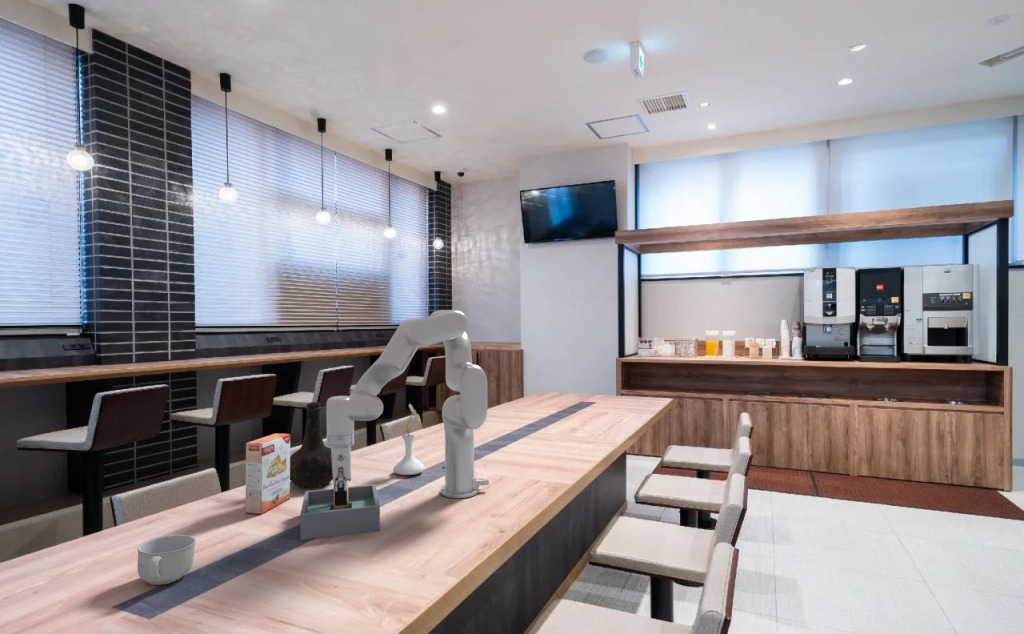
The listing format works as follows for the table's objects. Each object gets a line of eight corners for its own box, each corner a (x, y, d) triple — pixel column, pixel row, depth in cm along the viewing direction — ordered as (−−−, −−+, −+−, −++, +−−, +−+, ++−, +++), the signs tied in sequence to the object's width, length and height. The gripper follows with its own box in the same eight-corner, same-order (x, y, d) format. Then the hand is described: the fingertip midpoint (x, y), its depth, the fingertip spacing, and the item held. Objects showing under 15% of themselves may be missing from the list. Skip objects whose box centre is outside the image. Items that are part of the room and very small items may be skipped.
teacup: (155, 568, 124) (155, 533, 124) (204, 566, 125) (204, 531, 125) (116, 599, 110) (116, 560, 110) (172, 597, 111) (171, 558, 111)
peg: (348, 514, 157) (348, 480, 157) (348, 519, 153) (348, 484, 153) (333, 516, 156) (333, 481, 156) (333, 521, 152) (333, 485, 152)
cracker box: (262, 515, 157) (262, 443, 157) (244, 513, 158) (244, 442, 158) (291, 499, 171) (291, 433, 171) (274, 498, 172) (274, 432, 172)
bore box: (375, 505, 164) (375, 484, 164) (380, 530, 145) (379, 506, 145) (305, 513, 158) (305, 491, 158) (300, 540, 139) (300, 515, 139)
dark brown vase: (296, 496, 174) (296, 409, 174) (278, 483, 187) (277, 402, 187) (349, 484, 186) (348, 403, 185) (328, 473, 199) (328, 397, 199)
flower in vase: (421, 477, 193) (420, 407, 192) (389, 477, 193) (389, 407, 193) (427, 467, 206) (427, 402, 206) (398, 467, 206) (397, 402, 206)
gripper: (354, 445, 148) (355, 508, 148) (353, 432, 164) (353, 488, 164) (325, 447, 145) (326, 511, 145) (327, 434, 162) (327, 491, 162)
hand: (340, 499), depth 155 cm, fingers open, 9 cm apart
